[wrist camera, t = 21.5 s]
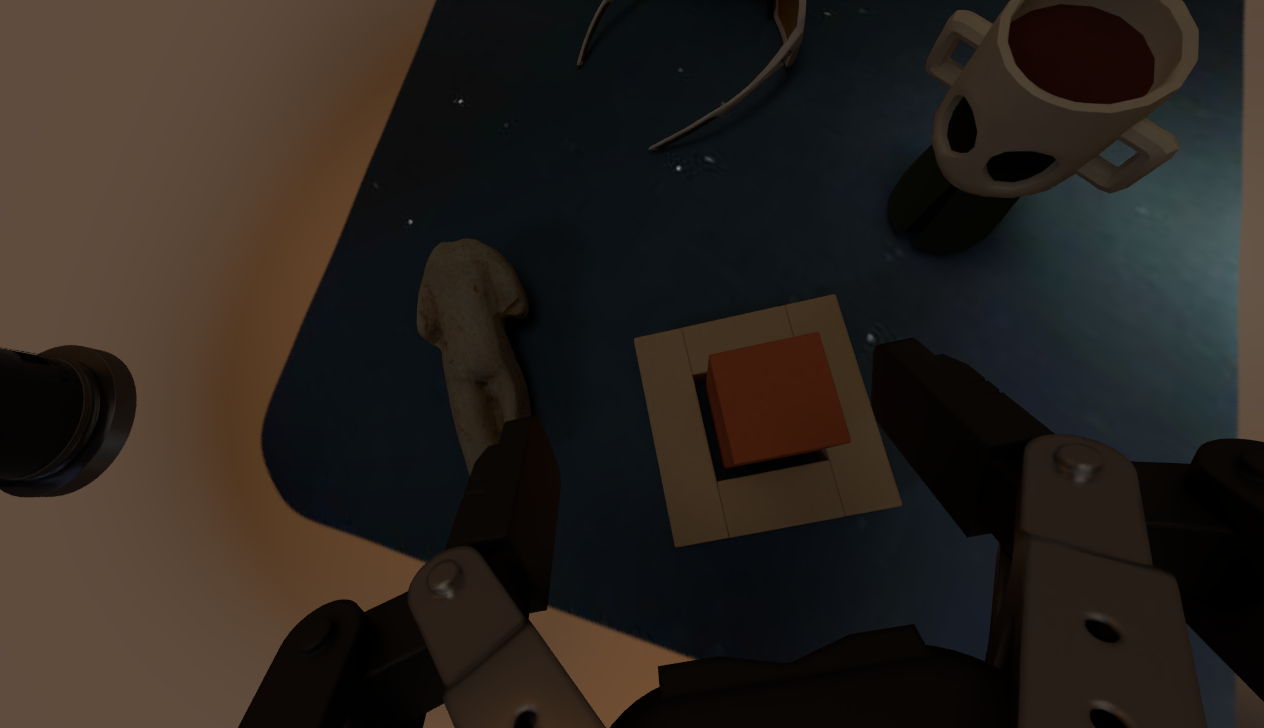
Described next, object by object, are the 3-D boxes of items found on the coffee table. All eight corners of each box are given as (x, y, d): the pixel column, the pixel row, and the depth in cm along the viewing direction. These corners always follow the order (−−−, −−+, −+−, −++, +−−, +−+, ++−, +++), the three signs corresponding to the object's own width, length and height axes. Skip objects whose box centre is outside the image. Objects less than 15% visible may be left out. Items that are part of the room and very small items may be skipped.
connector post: (723, 469, 29) (734, 465, 21) (704, 389, 31) (708, 354, 22) (805, 453, 29) (852, 442, 20) (784, 373, 30) (819, 330, 21)
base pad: (676, 542, 29) (674, 548, 26) (638, 348, 32) (633, 338, 29) (885, 503, 28) (903, 505, 25) (824, 308, 31) (835, 293, 28)
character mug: (832, 197, 32) (917, 19, 20) (906, 129, 33) (1035, -87, 20) (968, 306, 30) (1167, 180, 17) (1048, 230, 30) (1298, 53, 18)
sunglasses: (839, 51, 35) (852, -10, 30) (672, 186, 36) (659, 148, 32) (719, -58, 38) (714, -128, 34) (572, 69, 40) (547, 19, 35)
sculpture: (577, 453, 31) (523, 246, 34) (554, 456, 27) (493, 216, 29) (477, 483, 32) (431, 278, 35) (437, 491, 28) (388, 254, 30)
